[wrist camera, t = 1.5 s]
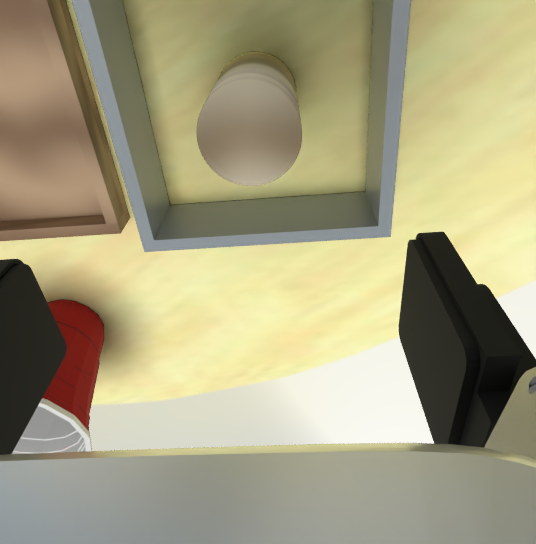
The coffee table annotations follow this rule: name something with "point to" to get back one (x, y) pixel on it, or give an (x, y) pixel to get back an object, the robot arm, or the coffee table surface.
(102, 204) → the tray
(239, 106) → the beige grooved cylinder
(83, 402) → the plastic cup
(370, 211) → the grey square frame
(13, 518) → the robot arm
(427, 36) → the coffee table surface
